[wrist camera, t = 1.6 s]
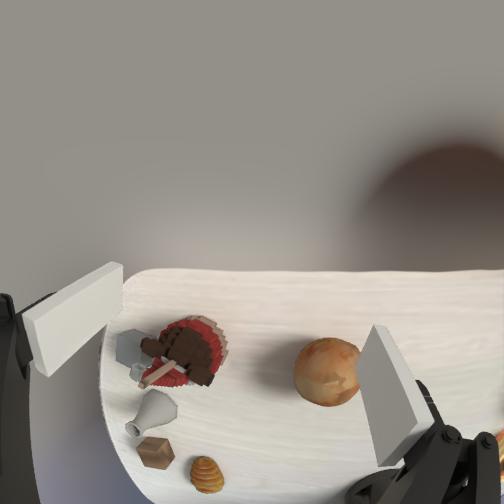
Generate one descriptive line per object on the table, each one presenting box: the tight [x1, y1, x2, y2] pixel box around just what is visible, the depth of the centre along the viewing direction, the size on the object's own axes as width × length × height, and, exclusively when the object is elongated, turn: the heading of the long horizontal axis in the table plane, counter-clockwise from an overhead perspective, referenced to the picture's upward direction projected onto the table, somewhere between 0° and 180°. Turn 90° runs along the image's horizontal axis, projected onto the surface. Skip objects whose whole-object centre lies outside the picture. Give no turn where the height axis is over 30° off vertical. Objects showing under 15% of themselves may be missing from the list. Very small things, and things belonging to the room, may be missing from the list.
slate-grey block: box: [116, 329, 157, 368], centre depth 42 cm, size 5×5×5 cm
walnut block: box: [136, 437, 175, 470], centre depth 41 cm, size 5×5×5 cm
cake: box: [130, 315, 229, 389], centre depth 34 cm, size 11×9×18 cm
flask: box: [126, 389, 178, 439], centre depth 39 cm, size 7×7×10 cm
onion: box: [294, 338, 361, 407], centre depth 34 cm, size 10×10×10 cm
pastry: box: [190, 457, 224, 494], centre depth 40 cm, size 9×7×4 cm
